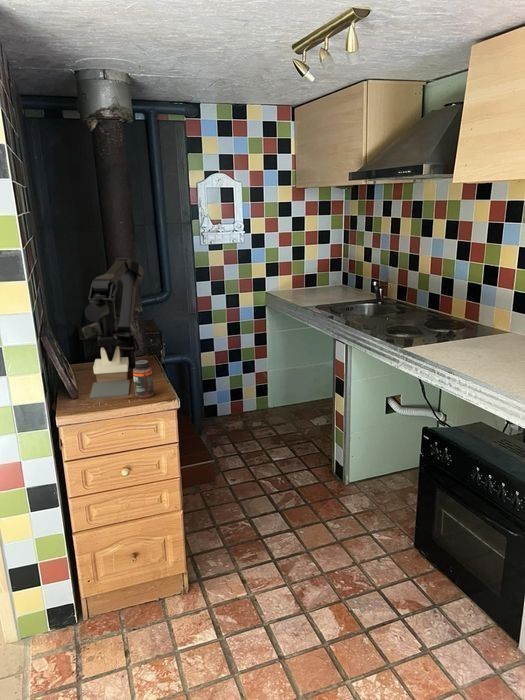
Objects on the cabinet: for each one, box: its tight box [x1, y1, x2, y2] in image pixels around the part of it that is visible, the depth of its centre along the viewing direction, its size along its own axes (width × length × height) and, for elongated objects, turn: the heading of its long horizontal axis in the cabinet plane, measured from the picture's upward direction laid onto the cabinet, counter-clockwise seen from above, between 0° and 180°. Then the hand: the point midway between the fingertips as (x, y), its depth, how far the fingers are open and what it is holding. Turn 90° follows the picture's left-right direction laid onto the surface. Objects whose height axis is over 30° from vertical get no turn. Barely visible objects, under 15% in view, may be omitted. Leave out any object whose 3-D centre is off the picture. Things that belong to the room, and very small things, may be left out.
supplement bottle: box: [132, 359, 155, 399], centre depth 172 cm, size 6×6×11 cm
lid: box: [92, 346, 129, 375], centre depth 188 cm, size 9×11×8 cm
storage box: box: [95, 371, 129, 382], centre depth 189 cm, size 8×10×5 cm
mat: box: [89, 379, 131, 400], centre depth 179 cm, size 14×12×1 cm
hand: (110, 359), depth 188 cm, fingers open, 5 cm apart
